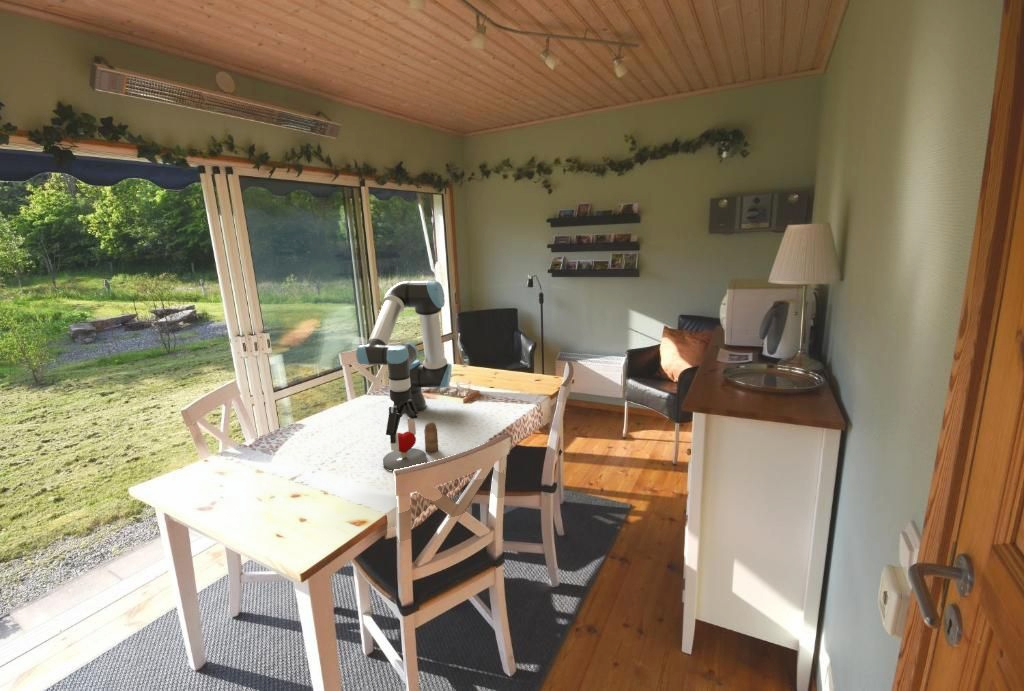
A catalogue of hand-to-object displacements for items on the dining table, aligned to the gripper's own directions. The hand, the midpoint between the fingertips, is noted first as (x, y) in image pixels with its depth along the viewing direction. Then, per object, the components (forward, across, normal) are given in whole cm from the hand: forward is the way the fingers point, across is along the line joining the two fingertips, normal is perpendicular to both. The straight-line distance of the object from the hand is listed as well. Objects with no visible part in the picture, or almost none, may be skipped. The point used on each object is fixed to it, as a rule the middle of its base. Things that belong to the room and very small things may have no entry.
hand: (404, 442), depth 178 cm
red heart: (+6, 0, 0) cm, 6 cm away
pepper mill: (+8, -10, +6) cm, 15 cm away
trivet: (+8, 0, 0) cm, 8 cm away
